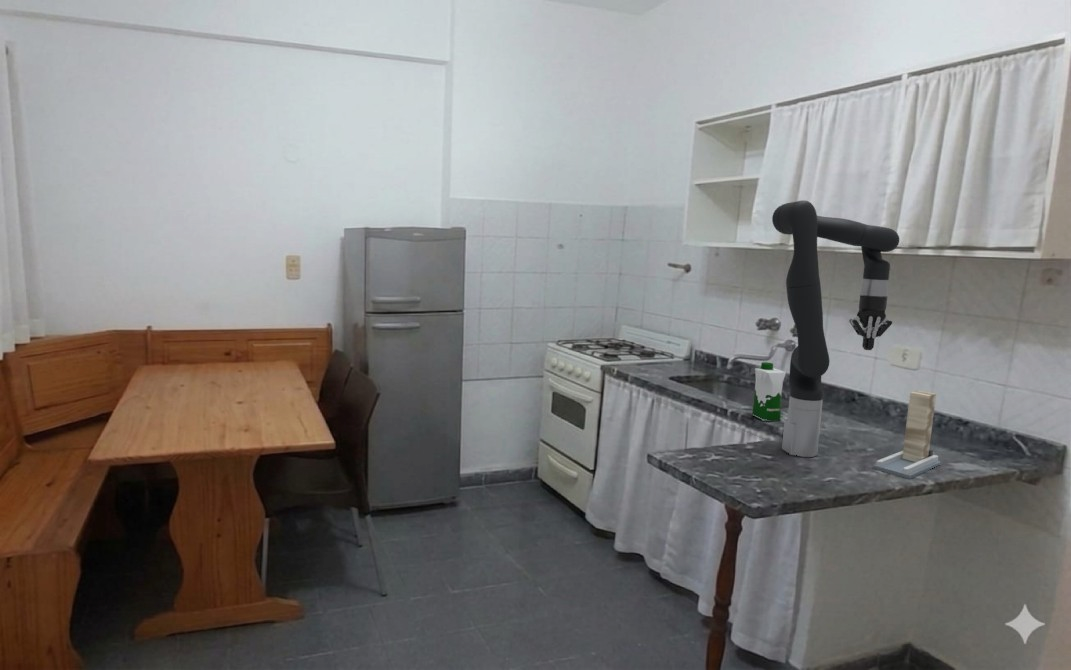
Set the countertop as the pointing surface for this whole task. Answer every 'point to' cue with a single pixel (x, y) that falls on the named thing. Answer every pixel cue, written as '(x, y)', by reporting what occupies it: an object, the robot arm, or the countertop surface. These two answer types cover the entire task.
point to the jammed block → (919, 426)
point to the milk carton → (768, 392)
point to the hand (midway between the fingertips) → (867, 349)
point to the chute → (906, 465)
